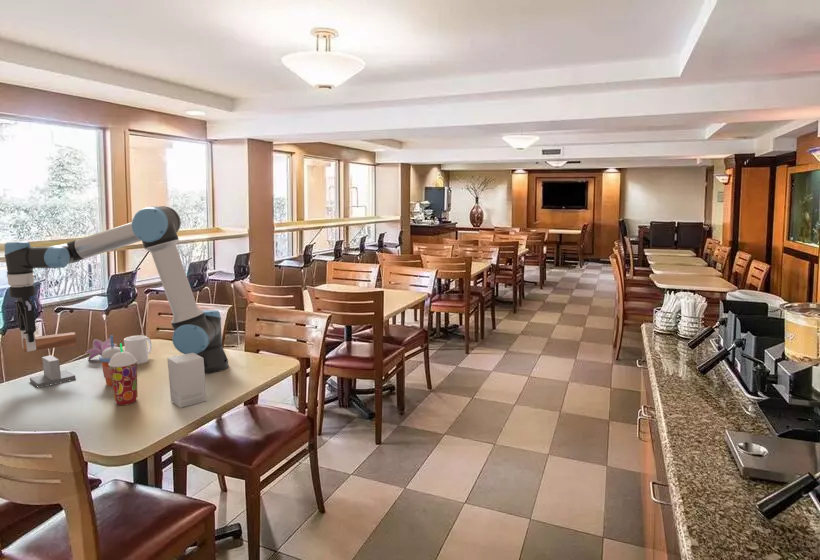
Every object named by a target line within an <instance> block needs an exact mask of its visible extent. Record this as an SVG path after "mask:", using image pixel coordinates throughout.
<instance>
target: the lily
mask: <svg viewBox="0 0 820 560" xmlns="http://www.w3.org/2000/svg"><path fill="white" fill-rule="evenodd" d="M113 343H114V342H113ZM117 345H118V344H117V343H114V347H117ZM109 347H111V341H110V338H108V339H106V340H105V341H102V340H101V339H97V338H94V339H93V341H92V348H90V349H88V350H86V351H85V352H84V354H89V356H88V358H87V360H88V359H91V360H93V359H94V358H95V357H97V356H101V355H102V353H103V351H104V350H105V349H107V348H109Z"/></svg>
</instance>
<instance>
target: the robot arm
mask: <svg viewBox="0 0 820 560" xmlns="http://www.w3.org/2000/svg"><path fill="white" fill-rule="evenodd" d="M181 222H182V220H181V218H180V215H179V214H178V212H177V211H176V210H175V209H174V208H172V207H170V206H165V205H162V206H161V205H160V206H147V207H145V208H141V209H139V210H138V211H137V212H136V213H135V214H134V216H133V218H132V220H131V222H128V223H125V224H122V225H119V226H116V227H113V228H112V227H111V228H109V229H106V230H103V231H101V232H100V231H99V232H98V233H97V232H96V233H94V234H91V235H87V236H85V237H84V236H83V237H81V238H78V239H76V240H72V241H69V242H65V243H62V244H56V245H49V246H32V245H31V243H30V242H29V241H27V240H26V241H24V240H18V241H17V240H16V241H15V240H14V241H7V242H6V243H4V258H5V264H6V270H7V271H6V272H7V275H6V276H7V285H8V286H9V288H8V290H9V291H8V292H9V297H10V298H13V299H16V300H15V301H14V306H15V311H16V319H17V327H18V329H19V331H20V337H21V348H22V349H23V350H24V345H23V338H25V339H26V347H27V353H28V352H32V351H37V350H36V342H35V337H36V335H35V333H36V332H37V327H36V318H35V317H36V316H35V312H34V311H35V308H34V307H35V305H34V304H33V303H32V302H33V301H32V300H31V297H34V296H36V285H34V284H35V279H34V278H35V277H36V275H35V274H34V269H55V270H56V269H62V268H66V267H67V266H68V264H69V265H70V264H75V263H79V261H83V260H86V259H88V258H92V257H94V256H98V255H100V254H104V253H107V252H110V251H114V250H116V249H119V248H123V247H126V246H129V245H133V244H135V243H140V242H142V245H143V248H144V250H146V251H148V252H149V253H150V254H151V256H152V259H153V261H154V264H155V265H154V266H155V268H156V271H157V274H158V276H159V279H160V281H161V285H162V287H163V291H164V293H165V296H166V299H167V302H168V304H169V307H170V310H171V313H172V319H171V321H170V323H171V327H172V330H173V334H172V340H171V341H172V344H173V346H174V348H175V350H177V351H178V352H179V353H180V354H182V355H184V354H189V353H195V354H197V355H199V356H201V357H202V358H204V371H205V374H212V373H213V374H214V373H217V372H221V371H223V370H225V369H226V370H227V368H228V367H229V360H228V357H227V354H226V352H225V350H224V347H223V334H222V317H221V312H220V311H219V310H217V309H209V310H208V309H204V310H203V309H202V310H201V309H199V308H198V306H197V302H196V298H195V296H194V294H193V291H192V288H191V285H190V281H189V279H188V276H187V273H186V271H185V267H184V265H183V262H182V259H181V256H180V254H179V250H178V247H177V244H178V242H179V241H180V240H179V237H178V234H177V233H178V232H179V230H180V228H181V224H182V223H181Z"/></svg>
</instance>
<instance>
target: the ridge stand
mask: <svg viewBox="0 0 820 560" xmlns="http://www.w3.org/2000/svg"><path fill="white" fill-rule="evenodd" d="M41 361H42V369H43V374H42V375H38V376H37V375H36V376H32V377H29V382H30V381H31V382H32V383H31V382H30V383H31V384H33V385H34V384H35V385H36V386H35V385H34V386H35V387H37V386H38V387H40V388H42V387H41V386H44V387H47V386H46V385H49V386H51V385H50V384H53V385H56V384H55V383H57V384H61V383H60V382H62V383H65V381H66V382H70V381H73V379H74V380H76V379H77V378H76V374H74V373H72V372H70V371H69V370H67V369H64V370H61V366H60V359H59V358H57V357H55V356H53V355H50V354H49V355H46V356H42V357H41ZM69 380H70V381H69ZM38 387H37V388H38Z"/></svg>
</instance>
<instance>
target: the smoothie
mask: <svg viewBox="0 0 820 560" xmlns="http://www.w3.org/2000/svg"><path fill="white" fill-rule="evenodd" d="M119 347H120V352H118V353H116V354H114V355H113V356H112V358H111V359H110V362H109V364H108V365H109V371H110V376H111V382H112V386H111V387H112V393H113V397H114V401H115V402H116V404H117V405H119V406H126V405H127V404H128V405H131V404H134V403H135V402H137V398H138V364H137V360H136V359H135V358H134V356H133V355H132V354H131V353H129V352H126V351H125V350H124V348H123V343H121V342H120V343H119ZM123 350H124V351H123Z"/></svg>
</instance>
